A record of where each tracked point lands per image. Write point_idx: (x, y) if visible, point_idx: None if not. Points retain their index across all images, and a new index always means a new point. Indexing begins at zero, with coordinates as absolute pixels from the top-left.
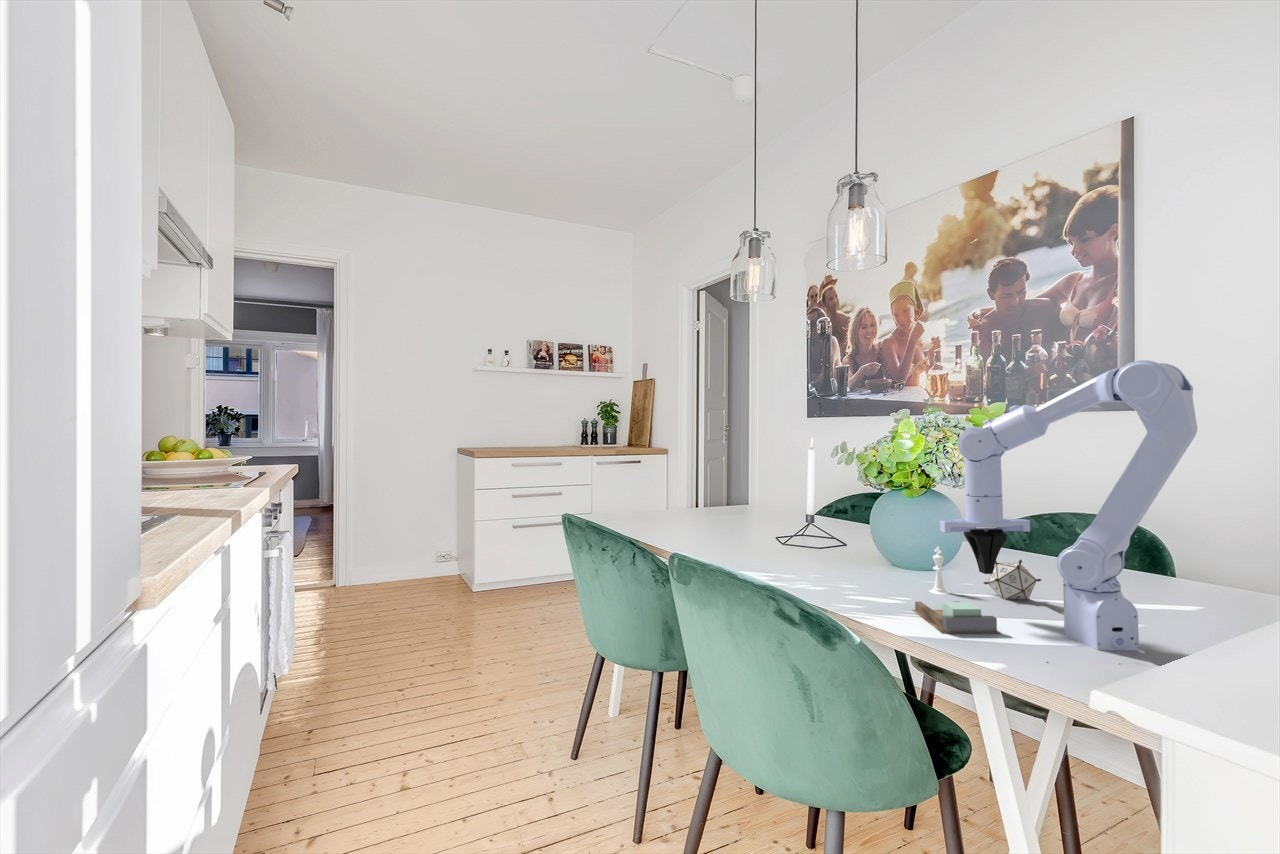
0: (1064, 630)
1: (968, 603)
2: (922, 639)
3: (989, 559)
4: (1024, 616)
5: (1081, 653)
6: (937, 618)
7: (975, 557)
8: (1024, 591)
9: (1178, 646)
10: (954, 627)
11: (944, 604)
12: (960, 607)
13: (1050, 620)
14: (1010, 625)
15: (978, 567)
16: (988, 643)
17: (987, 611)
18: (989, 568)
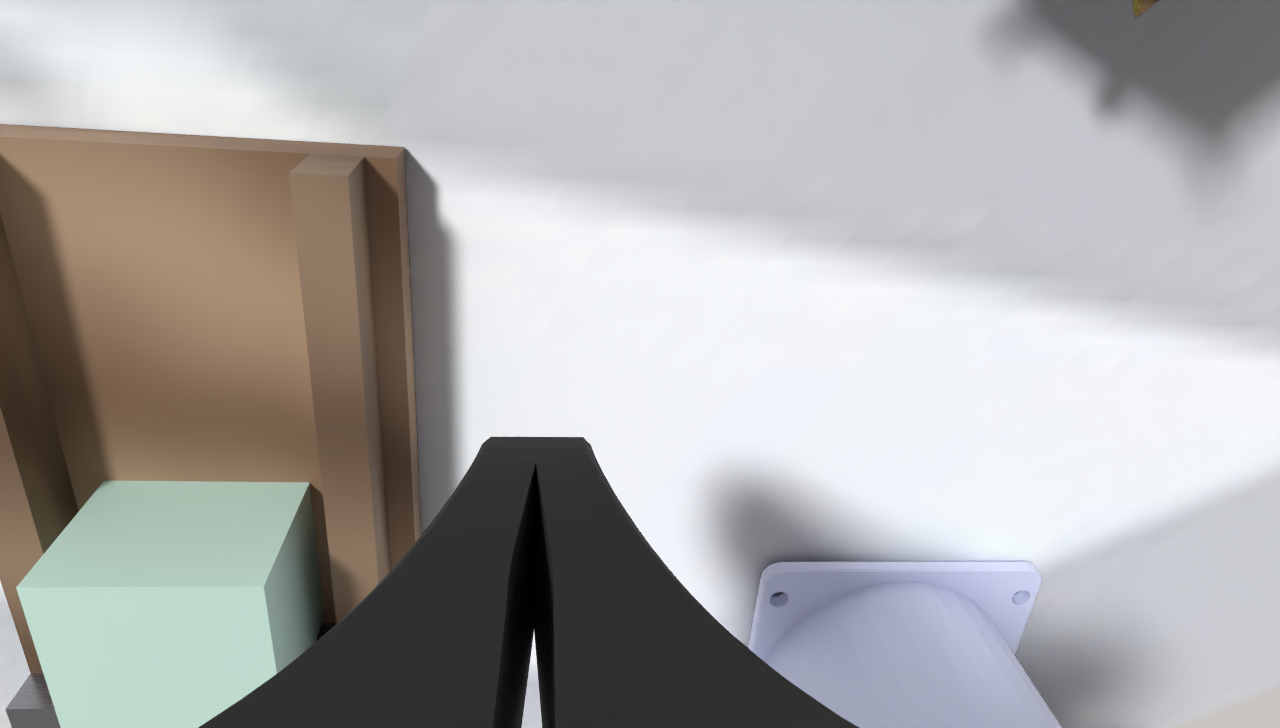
0: (797, 650)
1: (242, 618)
2: None
3: (545, 708)
4: (884, 198)
5: None
6: (10, 595)
7: (429, 526)
8: (1148, 1)
9: (1218, 678)
10: None
11: (30, 617)
12: (138, 703)
13: (989, 298)
14: (641, 392)
15: (473, 463)
16: None
17: (679, 37)
18: (534, 624)
